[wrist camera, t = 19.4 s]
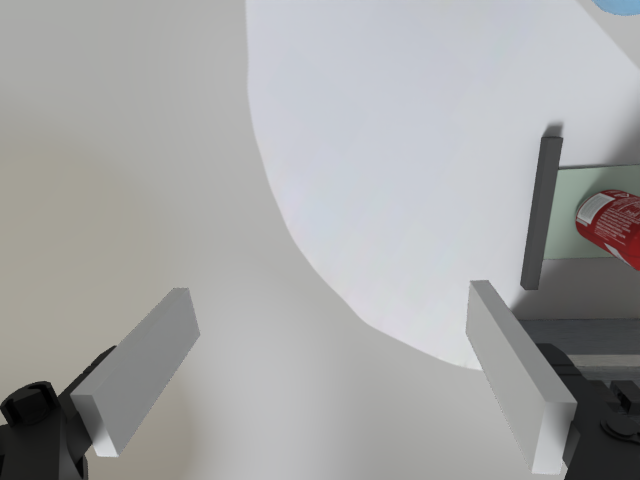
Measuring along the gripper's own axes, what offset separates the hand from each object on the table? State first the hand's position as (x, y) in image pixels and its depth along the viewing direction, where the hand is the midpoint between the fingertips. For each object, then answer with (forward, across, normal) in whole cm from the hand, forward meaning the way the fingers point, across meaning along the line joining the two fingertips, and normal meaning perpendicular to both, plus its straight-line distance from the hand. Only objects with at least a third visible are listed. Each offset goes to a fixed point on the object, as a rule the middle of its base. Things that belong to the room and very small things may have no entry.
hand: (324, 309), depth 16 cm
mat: (+32, +32, -7) cm, 46 cm away
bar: (+32, +24, -7) cm, 41 cm away
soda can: (+31, +32, -7) cm, 45 cm away
